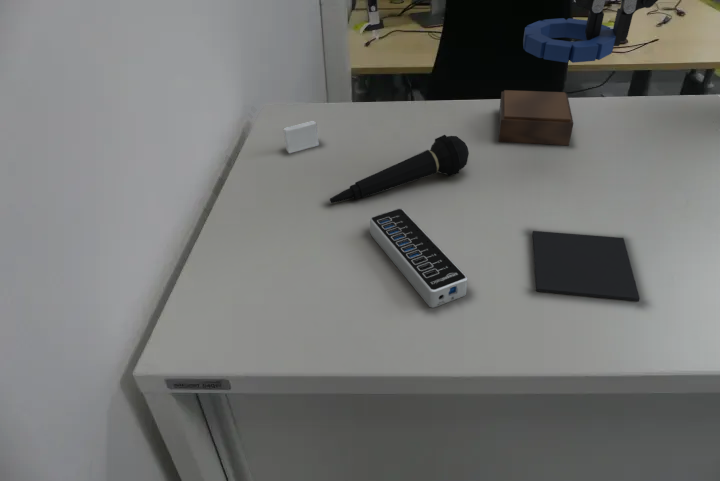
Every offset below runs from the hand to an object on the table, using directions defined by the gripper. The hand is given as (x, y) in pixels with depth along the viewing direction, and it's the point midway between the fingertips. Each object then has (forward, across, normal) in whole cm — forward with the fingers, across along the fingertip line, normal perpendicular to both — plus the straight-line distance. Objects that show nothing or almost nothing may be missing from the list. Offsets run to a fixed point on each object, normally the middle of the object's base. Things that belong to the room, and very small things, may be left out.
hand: (603, 43), depth 66 cm
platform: (+17, +5, -12) cm, 22 cm away
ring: (+1, +4, 0) cm, 4 cm away
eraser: (+18, +39, -1) cm, 43 cm away
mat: (+17, +1, +20) cm, 27 cm away
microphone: (+18, +23, +6) cm, 30 cm away
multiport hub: (+18, +19, +22) cm, 34 cm away
